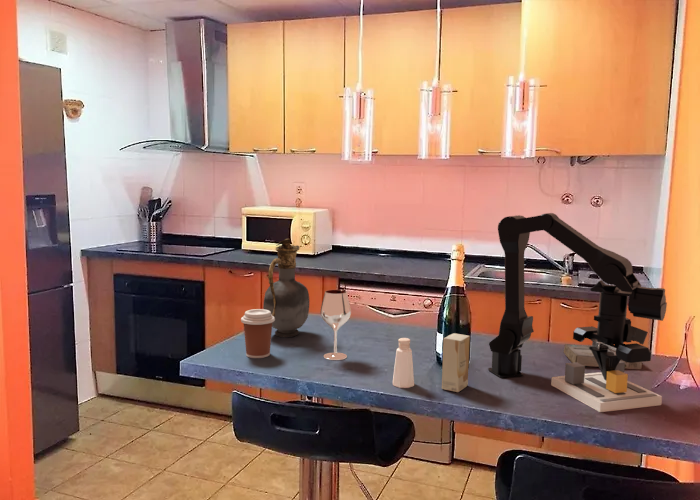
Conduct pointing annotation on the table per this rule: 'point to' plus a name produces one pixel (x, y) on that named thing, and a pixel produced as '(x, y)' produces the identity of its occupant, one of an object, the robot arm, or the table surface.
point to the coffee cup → (257, 332)
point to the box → (589, 356)
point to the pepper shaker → (403, 365)
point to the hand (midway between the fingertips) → (607, 380)
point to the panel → (602, 390)
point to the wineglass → (335, 316)
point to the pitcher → (286, 293)
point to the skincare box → (455, 362)
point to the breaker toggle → (616, 381)
